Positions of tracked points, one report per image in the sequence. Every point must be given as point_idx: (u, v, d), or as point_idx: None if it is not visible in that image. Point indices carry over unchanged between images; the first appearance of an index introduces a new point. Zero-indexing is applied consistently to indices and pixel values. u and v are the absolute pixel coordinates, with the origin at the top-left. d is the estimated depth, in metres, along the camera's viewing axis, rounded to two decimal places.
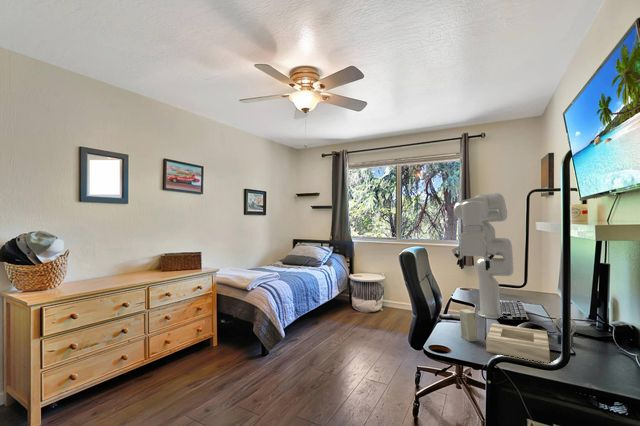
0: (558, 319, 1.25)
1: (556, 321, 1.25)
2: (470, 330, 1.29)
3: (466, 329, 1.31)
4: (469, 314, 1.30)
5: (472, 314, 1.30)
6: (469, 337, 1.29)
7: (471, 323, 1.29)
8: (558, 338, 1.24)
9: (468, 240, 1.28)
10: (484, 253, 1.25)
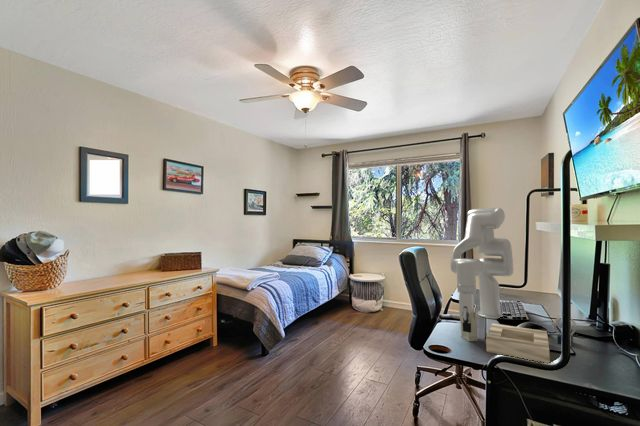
0: (558, 319, 1.25)
1: (556, 321, 1.25)
2: None
3: None
4: None
5: (472, 314, 1.30)
6: (469, 337, 1.29)
7: (471, 322, 1.29)
8: (558, 338, 1.24)
9: (472, 299, 1.30)
10: None
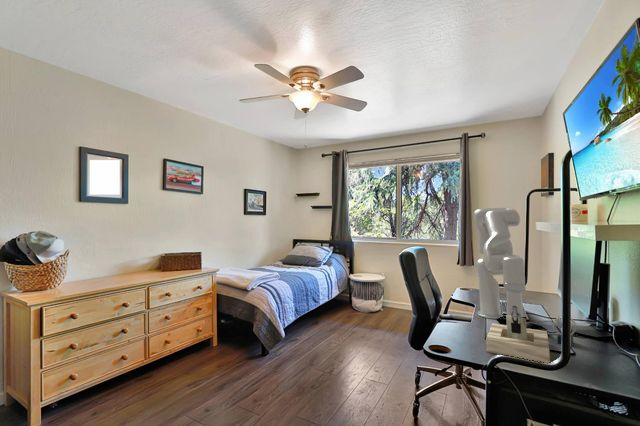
0: (558, 319, 1.25)
1: (556, 321, 1.25)
2: (520, 338, 1.19)
3: (514, 336, 1.21)
4: None
5: (522, 320, 1.20)
6: None
7: (521, 329, 1.20)
8: (558, 338, 1.24)
9: None
10: None
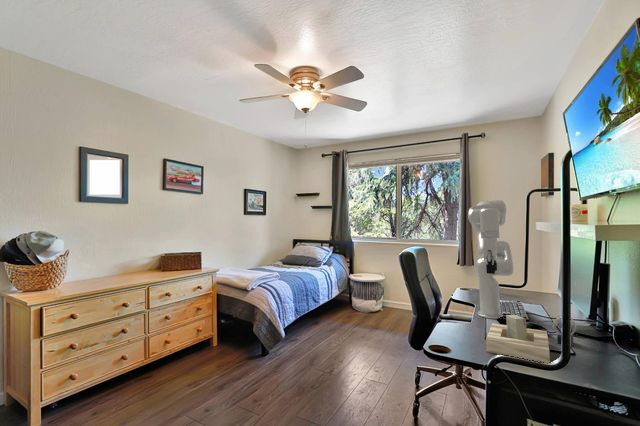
0: (558, 319, 1.25)
1: (556, 321, 1.25)
2: (520, 338, 1.19)
3: (514, 336, 1.21)
4: (519, 320, 1.20)
5: (522, 320, 1.20)
6: None
7: (521, 329, 1.20)
8: (558, 338, 1.24)
9: (496, 244, 1.36)
10: None
